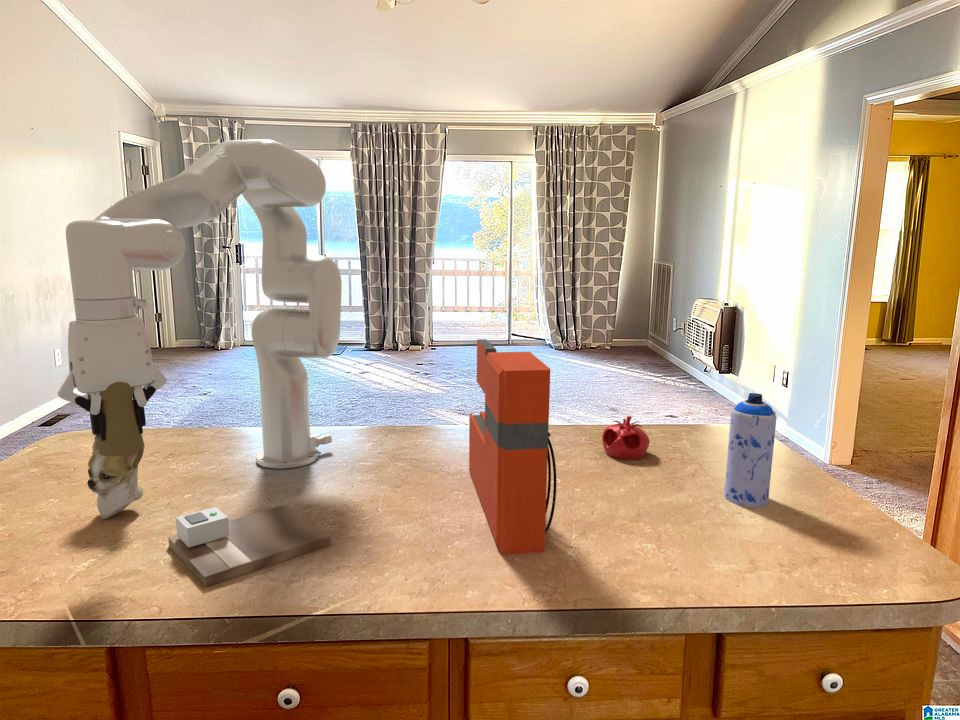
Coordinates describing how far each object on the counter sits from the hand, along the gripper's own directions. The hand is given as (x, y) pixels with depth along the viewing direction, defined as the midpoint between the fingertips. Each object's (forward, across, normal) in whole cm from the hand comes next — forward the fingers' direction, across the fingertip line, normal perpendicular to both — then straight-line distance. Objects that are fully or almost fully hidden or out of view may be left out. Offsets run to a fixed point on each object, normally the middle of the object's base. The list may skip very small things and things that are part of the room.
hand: (120, 433), depth 97 cm
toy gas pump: (+19, -54, +25) cm, 63 cm away
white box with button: (+16, -8, +6) cm, 20 cm away
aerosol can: (+19, -89, +51) cm, 105 cm away
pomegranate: (+20, -92, +22) cm, 97 cm away
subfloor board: (+18, -14, +10) cm, 25 cm away
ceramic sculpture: (+19, -1, -16) cm, 24 cm away
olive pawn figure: (+3, 0, 0) cm, 3 cm away
